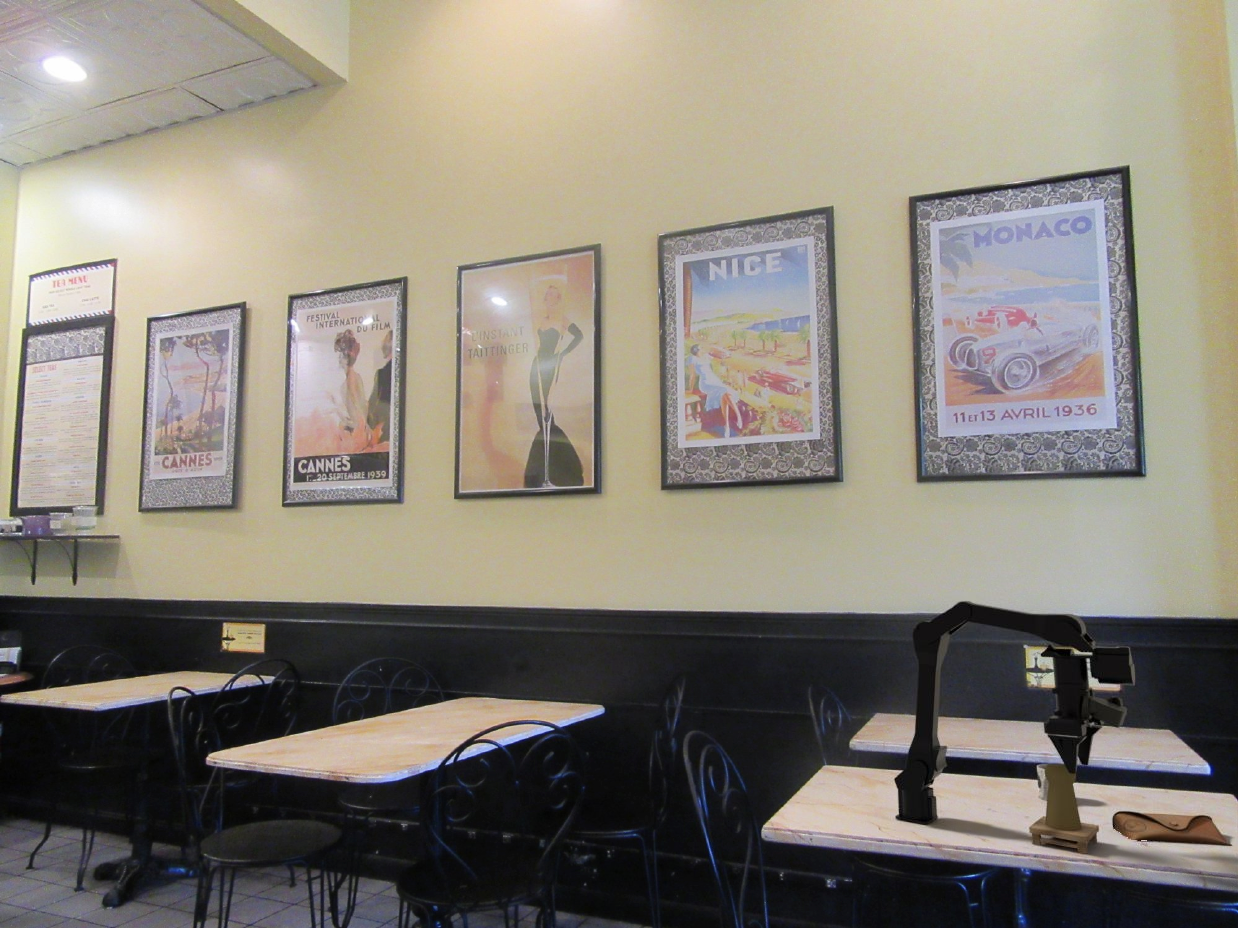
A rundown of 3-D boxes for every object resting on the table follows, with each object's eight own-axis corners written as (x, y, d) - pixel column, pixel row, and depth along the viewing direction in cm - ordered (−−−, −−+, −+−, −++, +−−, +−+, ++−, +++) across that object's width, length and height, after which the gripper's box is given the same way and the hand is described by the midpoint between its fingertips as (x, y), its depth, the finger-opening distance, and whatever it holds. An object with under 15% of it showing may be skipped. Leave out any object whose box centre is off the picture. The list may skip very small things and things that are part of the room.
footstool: (1030, 843, 159) (1029, 826, 159) (1044, 832, 166) (1043, 815, 167) (1087, 854, 153) (1086, 836, 153) (1099, 842, 160) (1098, 825, 161)
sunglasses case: (1130, 840, 161) (1120, 803, 165) (1118, 850, 166) (1109, 814, 170) (1236, 845, 158) (1224, 808, 162) (1220, 855, 163) (1209, 819, 167)
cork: (1086, 831, 156) (1082, 768, 158) (1049, 829, 158) (1046, 767, 159) (1076, 822, 162) (1072, 761, 164) (1041, 820, 164) (1038, 760, 165)
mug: (1044, 793, 196) (1042, 762, 197) (1076, 798, 191) (1074, 767, 192) (1028, 801, 189) (1026, 769, 190) (1061, 807, 184) (1059, 774, 185)
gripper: (1109, 690, 150) (1117, 784, 147) (1130, 680, 164) (1138, 765, 162) (1039, 686, 157) (1047, 775, 155) (1066, 676, 171) (1073, 758, 169)
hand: (1078, 769), depth 160 cm, fingers open, 9 cm apart
